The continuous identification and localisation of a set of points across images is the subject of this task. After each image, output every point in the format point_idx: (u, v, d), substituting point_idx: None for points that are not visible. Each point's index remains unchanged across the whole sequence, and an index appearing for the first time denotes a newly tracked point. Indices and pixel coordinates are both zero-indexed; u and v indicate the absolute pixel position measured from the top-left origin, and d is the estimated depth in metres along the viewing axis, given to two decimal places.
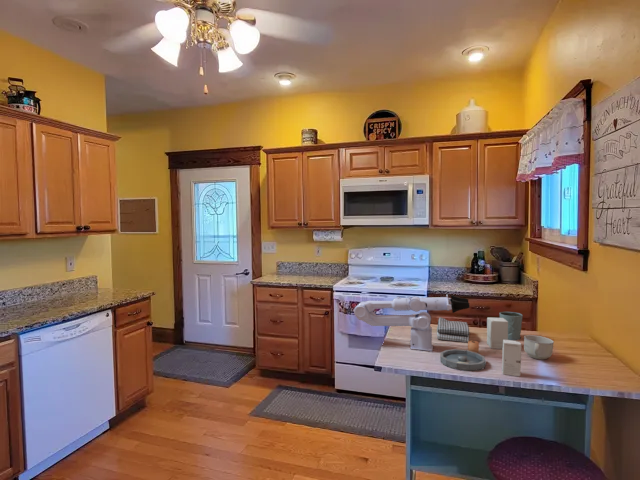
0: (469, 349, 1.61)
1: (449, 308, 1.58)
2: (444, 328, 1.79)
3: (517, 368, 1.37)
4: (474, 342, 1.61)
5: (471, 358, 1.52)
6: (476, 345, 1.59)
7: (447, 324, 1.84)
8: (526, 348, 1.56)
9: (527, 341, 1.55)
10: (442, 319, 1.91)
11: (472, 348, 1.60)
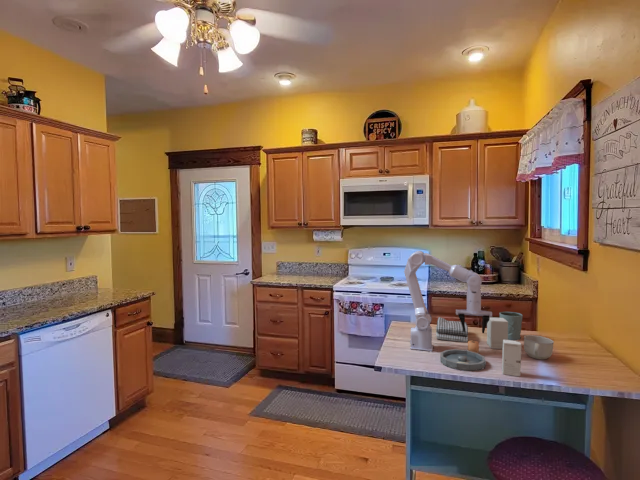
0: (469, 349, 1.61)
1: None
2: (443, 328, 1.79)
3: (517, 368, 1.37)
4: (474, 342, 1.61)
5: (471, 358, 1.52)
6: (476, 345, 1.59)
7: (446, 324, 1.84)
8: (526, 348, 1.56)
9: (527, 341, 1.55)
10: (441, 319, 1.92)
11: (472, 348, 1.60)
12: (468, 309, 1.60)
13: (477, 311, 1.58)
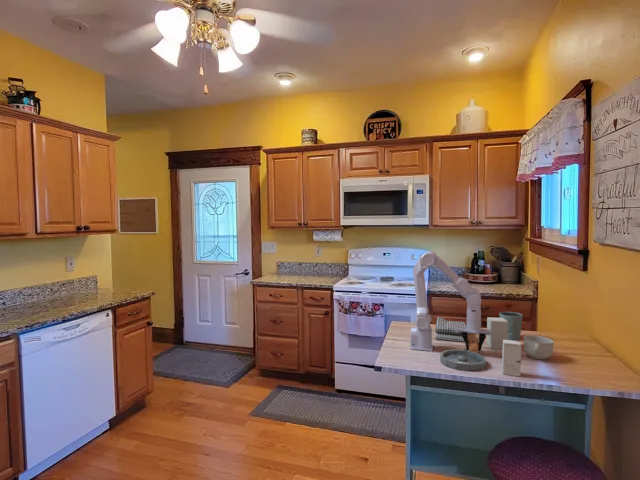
0: (469, 349, 1.61)
1: None
2: (442, 328, 1.80)
3: (517, 368, 1.37)
4: (474, 342, 1.61)
5: (471, 358, 1.52)
6: (476, 345, 1.59)
7: (445, 324, 1.85)
8: (526, 348, 1.56)
9: (527, 341, 1.55)
10: (441, 319, 1.92)
11: (472, 348, 1.60)
12: (468, 327, 1.60)
13: (477, 330, 1.58)
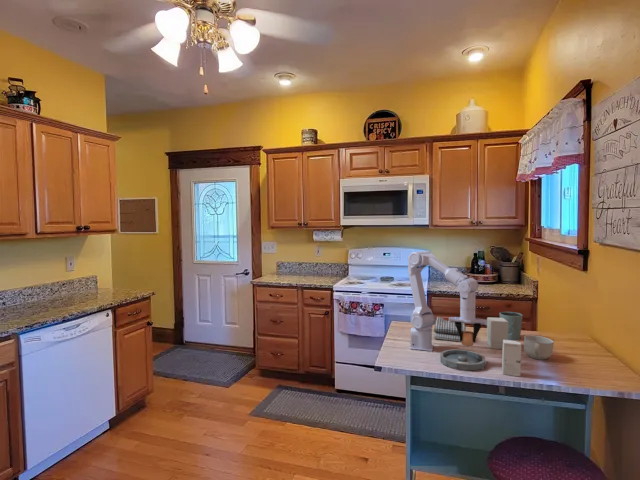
0: (463, 340, 1.51)
1: None
2: (441, 328, 1.80)
3: (517, 368, 1.37)
4: (468, 332, 1.51)
5: (471, 358, 1.52)
6: (470, 335, 1.50)
7: (444, 324, 1.85)
8: (526, 348, 1.56)
9: (527, 341, 1.55)
10: (440, 319, 1.92)
11: (466, 338, 1.50)
12: (462, 317, 1.51)
13: (471, 319, 1.49)
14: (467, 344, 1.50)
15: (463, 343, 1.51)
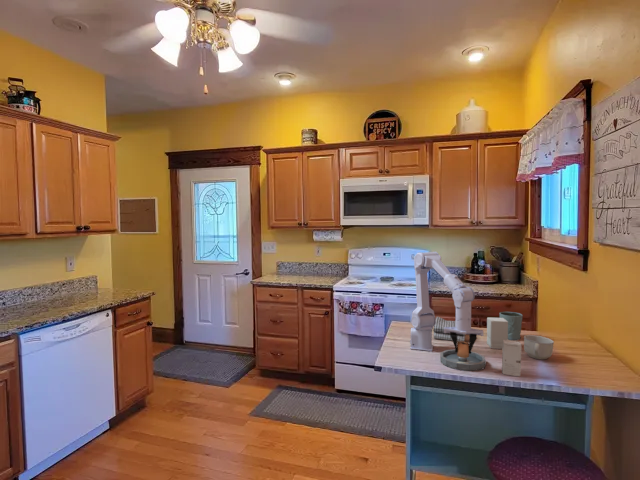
0: (458, 351, 1.46)
1: None
2: (440, 327, 1.80)
3: (517, 368, 1.37)
4: (464, 343, 1.45)
5: (471, 358, 1.52)
6: (466, 346, 1.44)
7: (443, 323, 1.85)
8: (526, 348, 1.56)
9: (527, 341, 1.55)
10: (439, 318, 1.92)
11: (461, 349, 1.44)
12: (457, 327, 1.45)
13: (467, 329, 1.43)
14: (462, 355, 1.44)
15: (458, 354, 1.46)
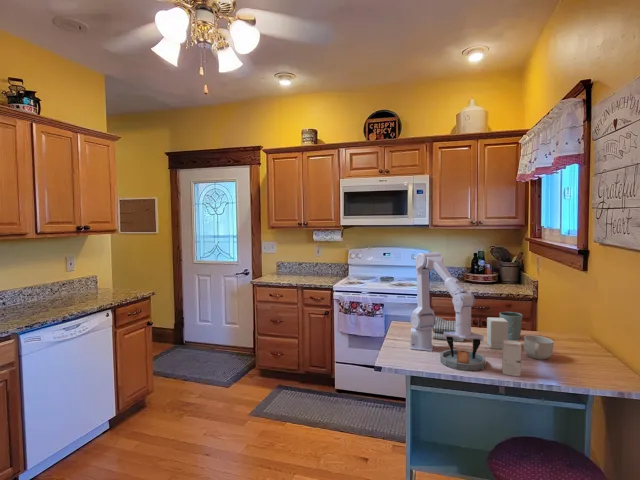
0: (458, 359, 1.46)
1: None
2: (439, 327, 1.80)
3: (517, 368, 1.37)
4: (464, 352, 1.46)
5: (471, 358, 1.52)
6: (465, 355, 1.44)
7: (443, 323, 1.85)
8: (526, 348, 1.56)
9: (527, 341, 1.55)
10: (439, 318, 1.93)
11: (461, 358, 1.45)
12: (457, 332, 1.45)
13: (467, 335, 1.43)
14: None
15: None
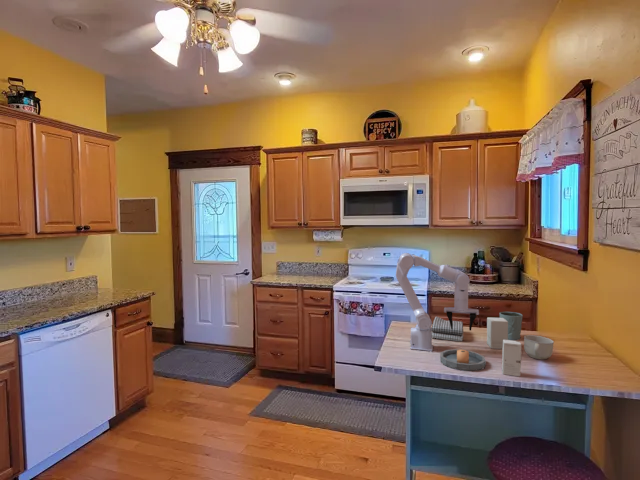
0: (458, 359, 1.46)
1: (444, 309, 1.68)
2: (438, 327, 1.81)
3: (517, 368, 1.37)
4: (464, 352, 1.46)
5: (471, 358, 1.52)
6: (465, 355, 1.44)
7: (442, 323, 1.86)
8: (526, 348, 1.56)
9: (527, 341, 1.55)
10: (438, 318, 1.93)
11: (461, 358, 1.45)
12: (455, 307, 1.65)
13: (464, 309, 1.63)
14: None
15: None
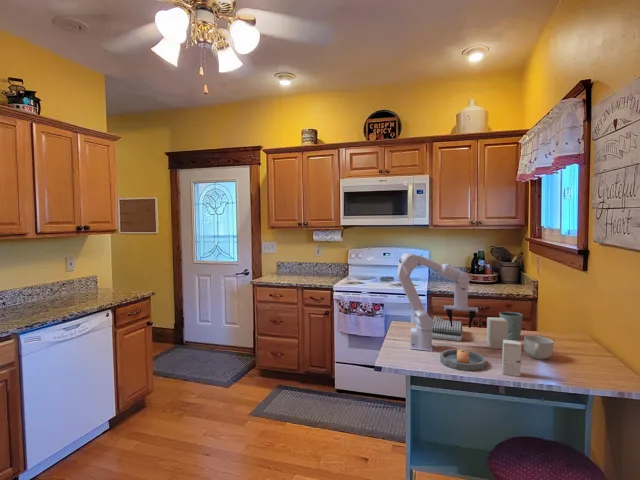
0: (458, 359, 1.46)
1: None
2: (437, 327, 1.81)
3: (517, 368, 1.37)
4: (464, 352, 1.46)
5: (471, 358, 1.52)
6: (466, 355, 1.44)
7: (441, 323, 1.86)
8: (526, 348, 1.56)
9: (527, 341, 1.55)
10: (437, 318, 1.93)
11: (461, 358, 1.45)
12: (455, 305, 1.68)
13: (464, 307, 1.66)
14: None
15: None
